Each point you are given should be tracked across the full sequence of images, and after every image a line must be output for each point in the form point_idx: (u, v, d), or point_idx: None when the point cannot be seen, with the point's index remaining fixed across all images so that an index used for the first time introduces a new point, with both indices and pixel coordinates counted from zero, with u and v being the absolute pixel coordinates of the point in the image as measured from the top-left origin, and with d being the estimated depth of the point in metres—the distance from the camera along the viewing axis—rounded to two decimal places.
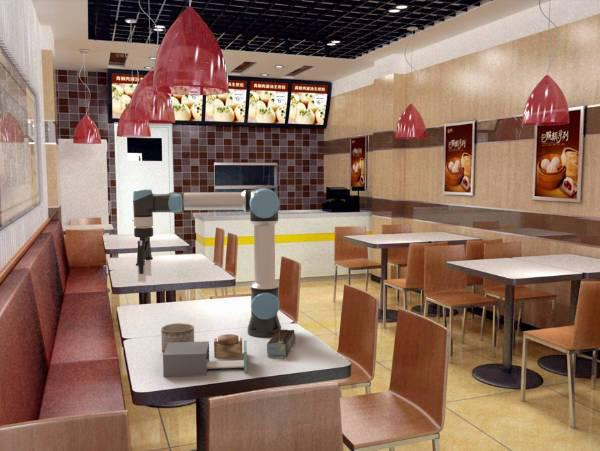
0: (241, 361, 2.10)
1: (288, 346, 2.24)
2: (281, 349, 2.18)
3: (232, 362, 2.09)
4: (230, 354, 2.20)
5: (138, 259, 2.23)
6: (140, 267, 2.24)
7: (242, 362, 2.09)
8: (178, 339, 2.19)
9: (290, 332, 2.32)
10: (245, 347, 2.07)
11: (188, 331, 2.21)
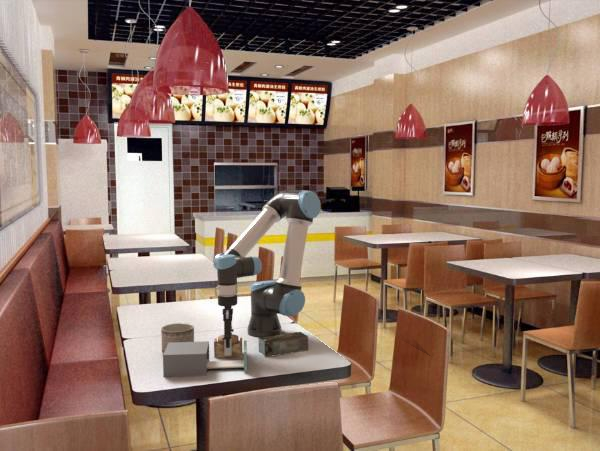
0: (241, 361, 2.10)
1: (279, 347, 2.22)
2: (263, 347, 2.21)
3: (232, 362, 2.09)
4: None
5: (225, 333, 2.14)
6: (227, 341, 2.16)
7: (242, 362, 2.09)
8: (178, 339, 2.19)
9: (297, 336, 2.26)
10: (245, 347, 2.07)
11: (188, 331, 2.21)
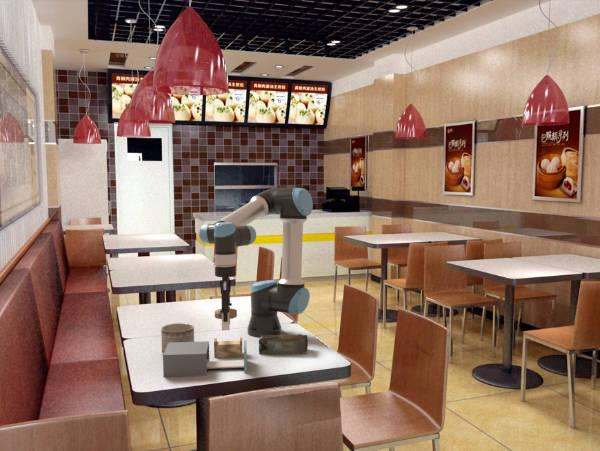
0: (241, 361, 2.10)
1: (274, 347, 2.23)
2: None
3: (232, 362, 2.09)
4: (230, 354, 2.20)
5: (223, 306, 1.99)
6: (224, 314, 2.01)
7: (242, 362, 2.09)
8: (178, 339, 2.19)
9: (294, 338, 2.23)
10: (245, 347, 2.07)
11: (188, 331, 2.21)
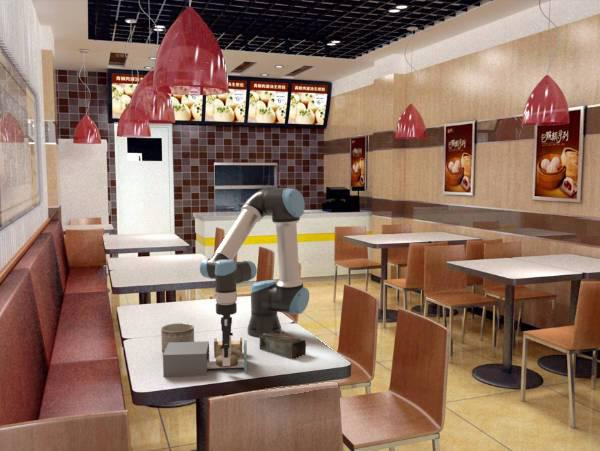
0: (241, 361, 2.10)
1: (269, 345, 2.25)
2: None
3: None
4: None
5: (223, 342, 1.98)
6: (225, 350, 1.99)
7: (242, 362, 2.09)
8: (178, 339, 2.19)
9: (286, 341, 2.20)
10: (245, 347, 2.07)
11: (188, 331, 2.21)
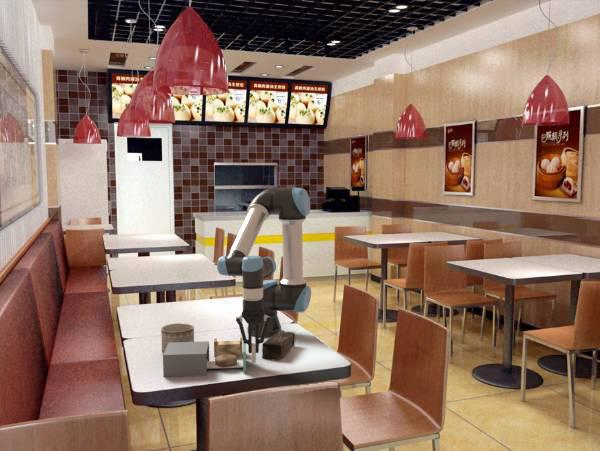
0: (240, 361, 2.10)
1: None
2: None
3: None
4: (230, 354, 2.20)
5: None
6: (248, 345, 2.08)
7: (241, 362, 2.09)
8: (178, 339, 2.19)
9: (268, 340, 2.21)
10: (244, 347, 2.07)
11: (188, 331, 2.21)
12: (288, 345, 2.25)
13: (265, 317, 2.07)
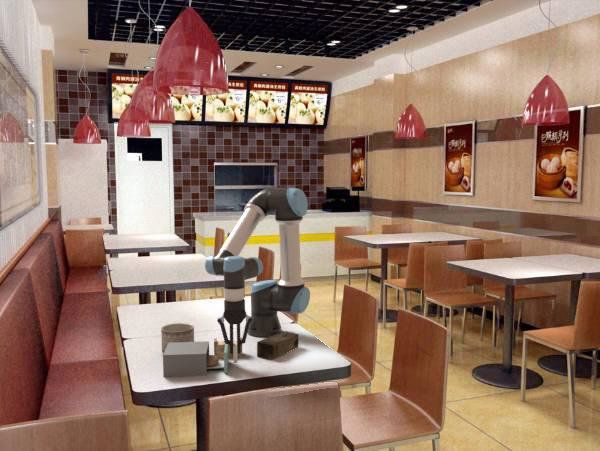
0: (222, 362, 2.10)
1: None
2: None
3: None
4: (230, 354, 2.20)
5: None
6: (230, 346, 2.08)
7: (223, 363, 2.09)
8: (178, 339, 2.19)
9: (265, 339, 2.23)
10: (226, 348, 2.06)
11: (188, 331, 2.21)
12: (287, 345, 2.24)
13: (247, 317, 2.07)
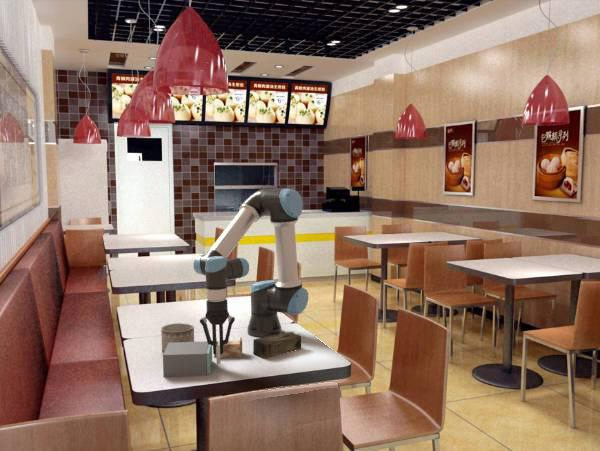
0: None
1: None
2: None
3: None
4: (230, 354, 2.20)
5: None
6: (213, 346, 2.07)
7: None
8: (178, 339, 2.19)
9: (263, 337, 2.25)
10: (209, 348, 2.05)
11: (188, 331, 2.21)
12: (284, 346, 2.23)
13: (229, 318, 2.06)
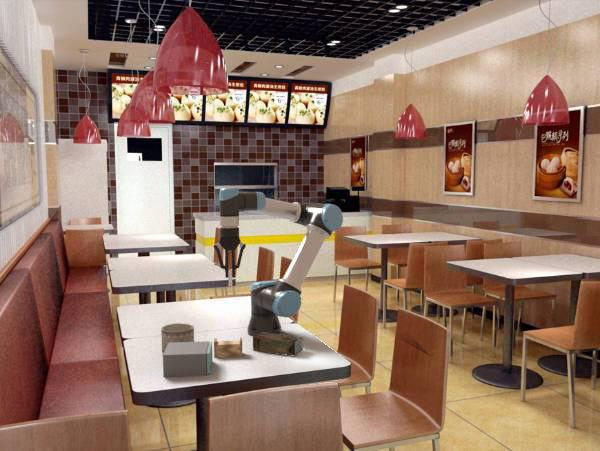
0: None
1: None
2: (301, 343, 2.25)
3: None
4: (230, 354, 2.20)
5: None
6: (225, 270, 2.25)
7: None
8: (178, 339, 2.19)
9: None
10: (209, 348, 2.05)
11: (188, 331, 2.21)
12: (274, 346, 2.23)
13: (241, 244, 2.24)
